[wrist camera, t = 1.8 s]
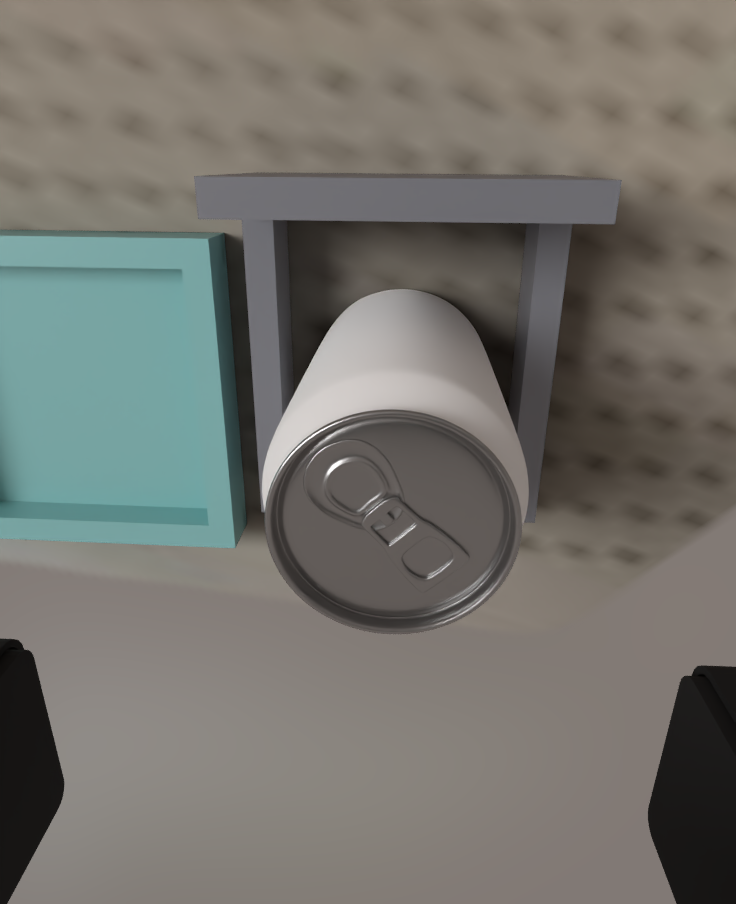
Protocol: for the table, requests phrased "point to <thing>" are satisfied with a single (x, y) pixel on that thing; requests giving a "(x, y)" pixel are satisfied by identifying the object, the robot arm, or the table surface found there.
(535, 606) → the table surface
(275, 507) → the can
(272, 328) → the bay
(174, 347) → the tray
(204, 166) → the table surface
